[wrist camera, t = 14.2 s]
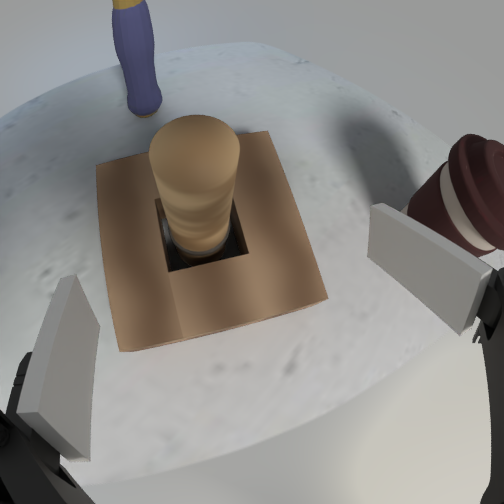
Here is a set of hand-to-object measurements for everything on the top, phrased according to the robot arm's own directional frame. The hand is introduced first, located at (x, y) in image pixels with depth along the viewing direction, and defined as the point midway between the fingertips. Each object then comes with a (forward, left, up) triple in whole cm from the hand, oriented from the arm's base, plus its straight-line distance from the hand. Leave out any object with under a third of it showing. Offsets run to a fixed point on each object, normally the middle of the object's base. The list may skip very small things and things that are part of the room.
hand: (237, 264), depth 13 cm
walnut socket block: (-1, +6, -14) cm, 15 cm away
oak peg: (-1, +6, -14) cm, 15 cm away
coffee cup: (+21, +1, -14) cm, 26 cm away
